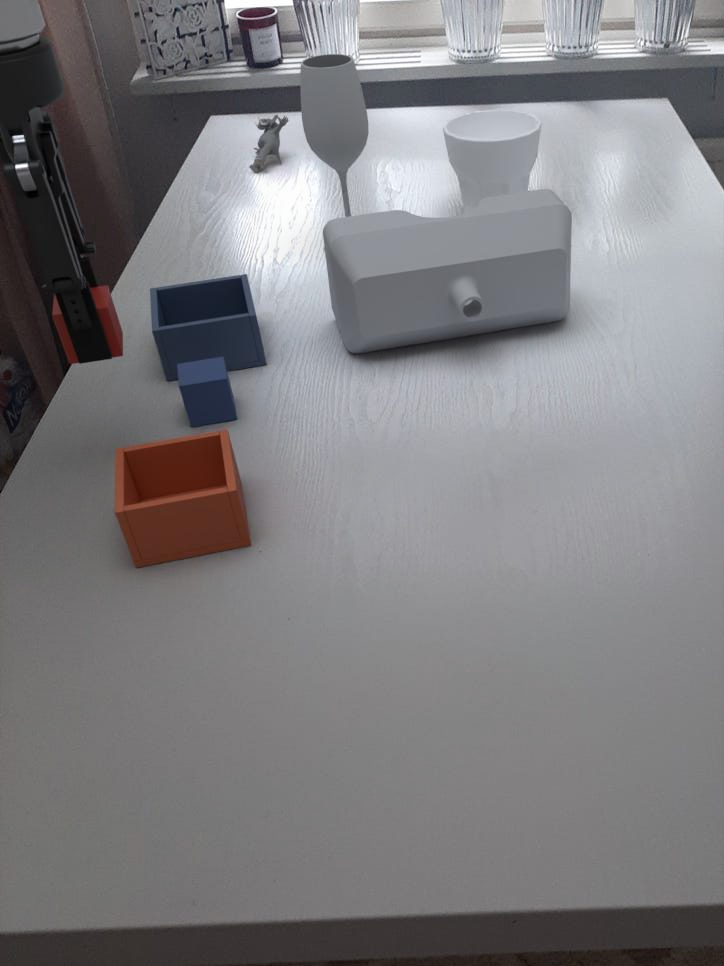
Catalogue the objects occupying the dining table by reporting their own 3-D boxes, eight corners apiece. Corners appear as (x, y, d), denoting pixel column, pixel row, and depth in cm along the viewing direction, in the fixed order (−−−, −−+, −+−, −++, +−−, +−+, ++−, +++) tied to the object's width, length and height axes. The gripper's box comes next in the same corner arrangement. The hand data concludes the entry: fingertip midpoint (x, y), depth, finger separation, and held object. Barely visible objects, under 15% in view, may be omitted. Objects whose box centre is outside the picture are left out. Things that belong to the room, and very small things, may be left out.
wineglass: (384, 234, 126) (364, 50, 111) (379, 258, 120) (356, 68, 106) (327, 236, 126) (299, 53, 112) (318, 261, 121) (288, 71, 106)
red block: (69, 364, 83) (51, 315, 80) (71, 341, 86) (54, 292, 83) (123, 356, 84) (107, 306, 81) (123, 333, 87) (107, 284, 84)
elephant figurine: (225, 171, 146) (246, 131, 150) (259, 197, 149) (279, 157, 153) (254, 134, 139) (275, 92, 142) (289, 162, 142) (309, 120, 145)
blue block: (190, 427, 94) (178, 386, 91) (188, 404, 97) (176, 363, 94) (237, 419, 94) (226, 377, 91) (233, 397, 98) (223, 356, 94)
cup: (493, 190, 136) (490, 103, 128) (560, 210, 129) (562, 120, 121) (429, 217, 129) (422, 127, 122) (496, 240, 123) (493, 147, 115)
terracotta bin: (135, 568, 79) (114, 512, 75) (134, 502, 85) (115, 448, 81) (251, 545, 80) (236, 489, 76) (241, 483, 87) (227, 428, 83)
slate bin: (166, 381, 100) (151, 330, 97) (163, 337, 108) (149, 288, 104) (266, 364, 102) (256, 314, 98) (257, 322, 109) (246, 273, 106)
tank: (356, 386, 98) (338, 265, 89) (333, 318, 109) (315, 204, 101) (590, 347, 102) (594, 227, 93) (544, 285, 113) (545, 172, 104)
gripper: (42, 66, 63) (141, 386, 79) (54, 9, 75) (138, 297, 92) (-79, 79, 62) (46, 402, 78) (-48, 18, 74) (56, 309, 90)
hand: (95, 345), depth 85 cm, fingers closed on red block, 4 cm apart
